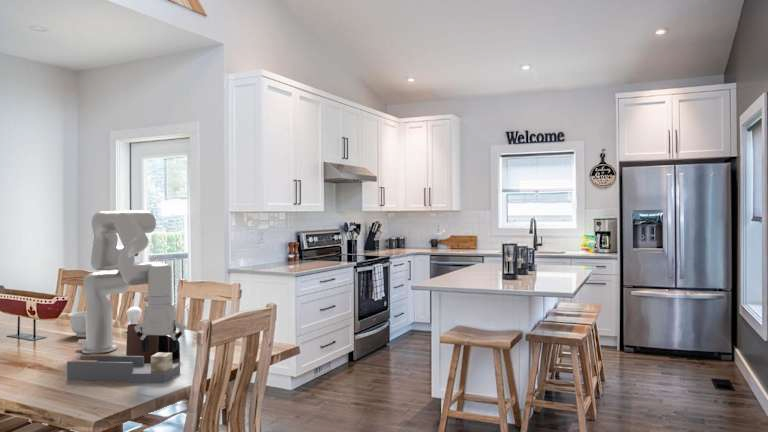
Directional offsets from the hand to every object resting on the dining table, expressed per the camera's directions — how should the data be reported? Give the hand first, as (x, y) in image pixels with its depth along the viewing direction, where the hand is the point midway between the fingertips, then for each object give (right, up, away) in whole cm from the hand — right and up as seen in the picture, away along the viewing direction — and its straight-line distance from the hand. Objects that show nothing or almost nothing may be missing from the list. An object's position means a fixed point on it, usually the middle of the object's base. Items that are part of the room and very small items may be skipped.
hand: (160, 351), depth 187 cm
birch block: (+1, -6, 0) cm, 6 cm away
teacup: (-59, -8, +61) cm, 85 cm away
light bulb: (-42, -8, +74) cm, 86 cm away
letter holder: (-12, -9, +22) cm, 27 cm away
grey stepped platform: (-13, -9, +1) cm, 16 cm away
